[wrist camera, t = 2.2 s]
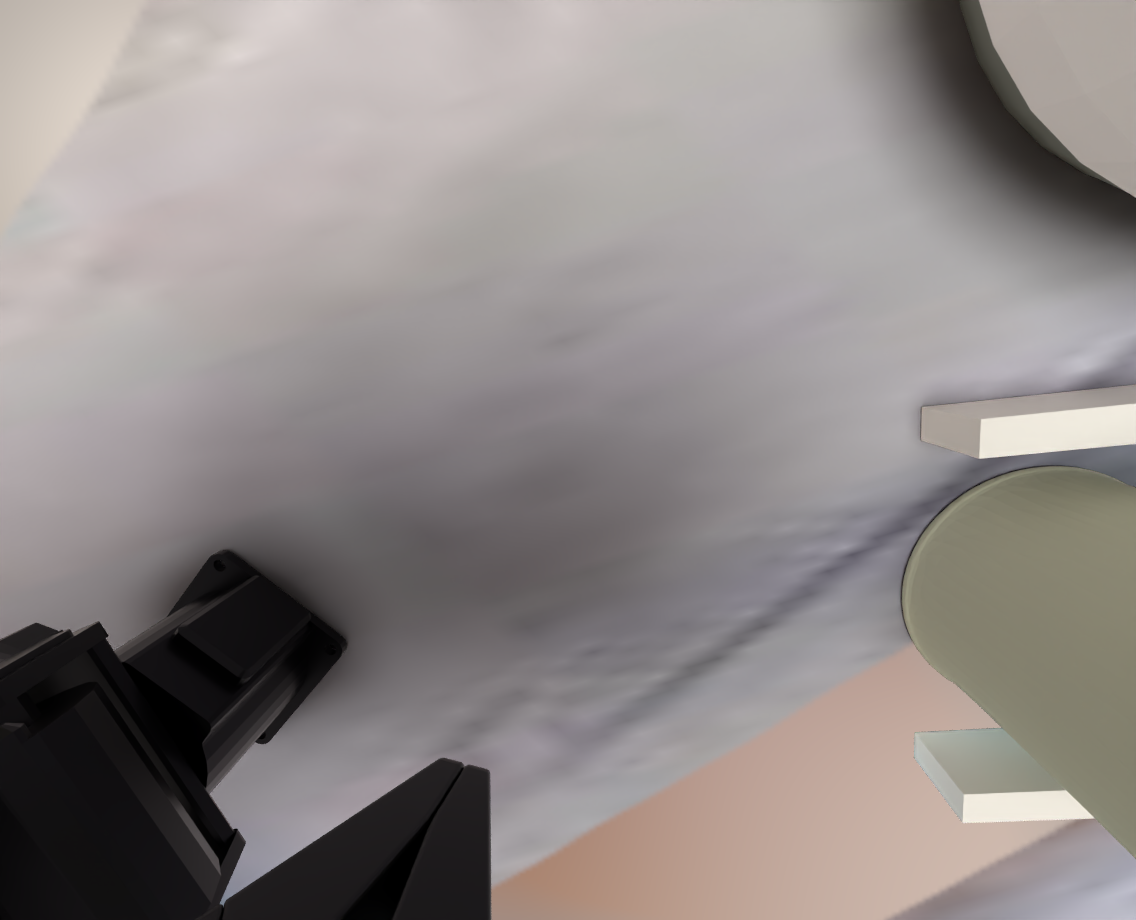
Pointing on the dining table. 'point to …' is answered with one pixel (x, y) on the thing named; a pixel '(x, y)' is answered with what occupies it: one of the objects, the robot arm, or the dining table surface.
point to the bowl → (1065, 76)
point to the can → (1041, 623)
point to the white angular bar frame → (991, 756)
